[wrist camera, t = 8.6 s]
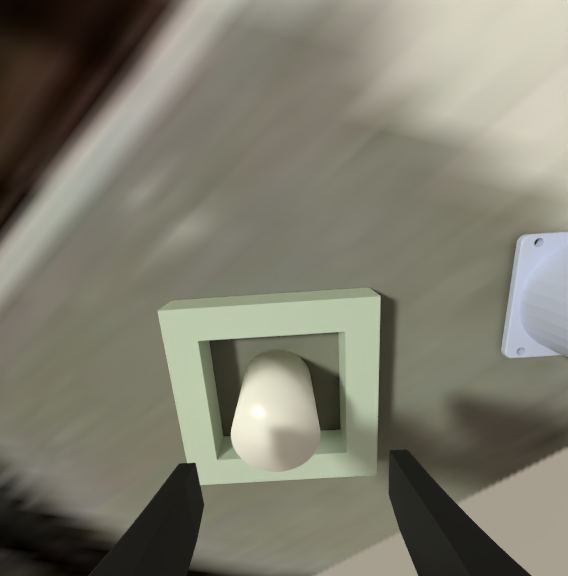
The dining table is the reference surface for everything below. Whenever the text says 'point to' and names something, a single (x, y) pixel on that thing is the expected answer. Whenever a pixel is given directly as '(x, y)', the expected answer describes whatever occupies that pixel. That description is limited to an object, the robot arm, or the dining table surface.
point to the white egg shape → (276, 413)
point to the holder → (262, 323)
